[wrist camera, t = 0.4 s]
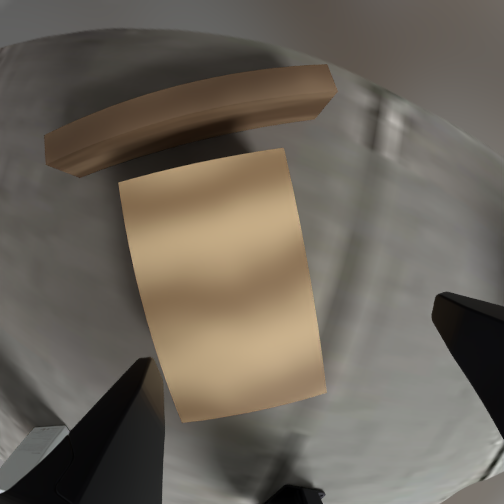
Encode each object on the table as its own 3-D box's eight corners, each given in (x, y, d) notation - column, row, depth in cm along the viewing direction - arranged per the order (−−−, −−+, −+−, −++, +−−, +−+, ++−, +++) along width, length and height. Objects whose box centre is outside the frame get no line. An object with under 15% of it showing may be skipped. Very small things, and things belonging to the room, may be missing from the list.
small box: (34, 426, 23) (-16, 483, 10) (66, 423, 24) (16, 492, 11) (68, 472, 24) (34, 533, 11) (102, 472, 24) (71, 543, 12)
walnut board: (314, 119, 24) (337, 91, 18) (79, 177, 23) (45, 164, 17) (306, 96, 24) (327, 64, 18) (77, 153, 22) (44, 135, 17)
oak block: (299, 350, 26) (326, 392, 18) (192, 373, 25) (182, 422, 17) (265, 174, 25) (283, 147, 17) (150, 198, 24) (118, 182, 16)
